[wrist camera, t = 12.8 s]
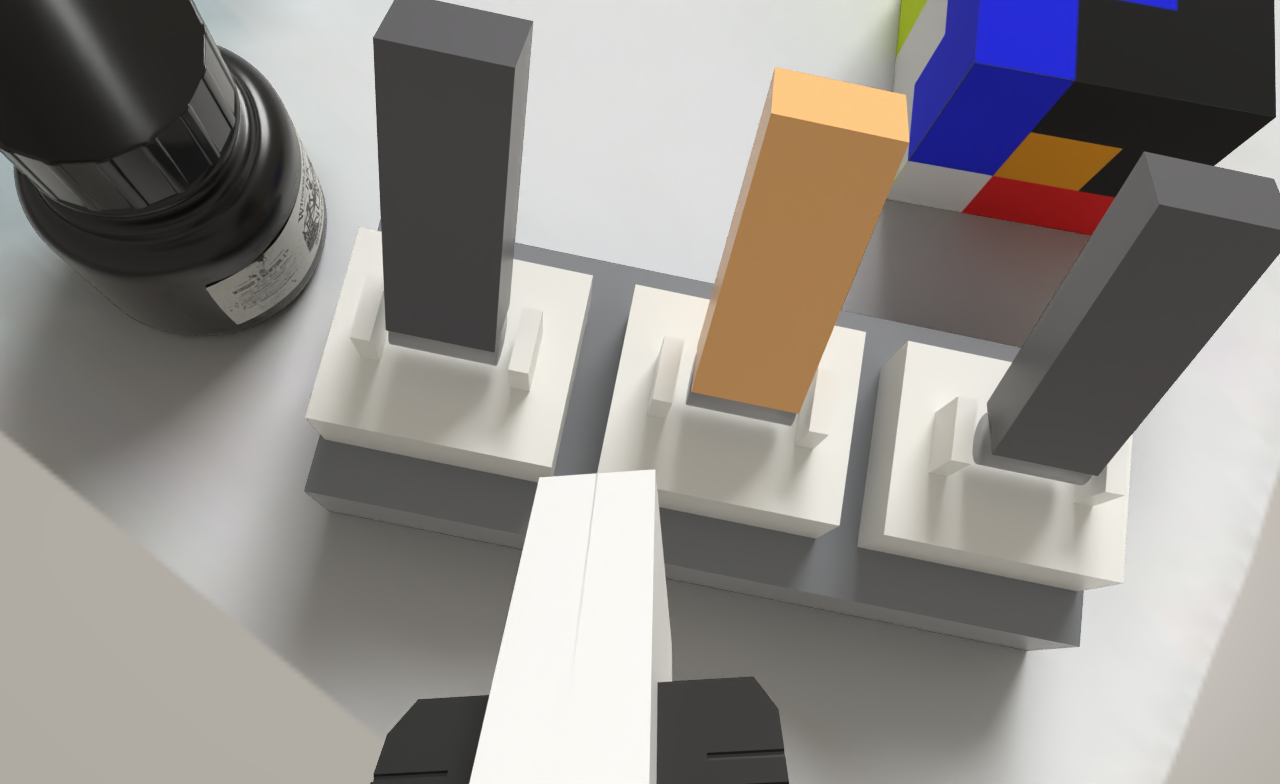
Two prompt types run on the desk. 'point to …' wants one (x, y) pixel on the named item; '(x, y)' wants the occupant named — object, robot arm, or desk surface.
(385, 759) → the robot arm
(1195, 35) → the puzzle toy
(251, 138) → the ink bottle
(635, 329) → the block
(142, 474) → the desk surface
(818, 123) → the lever
